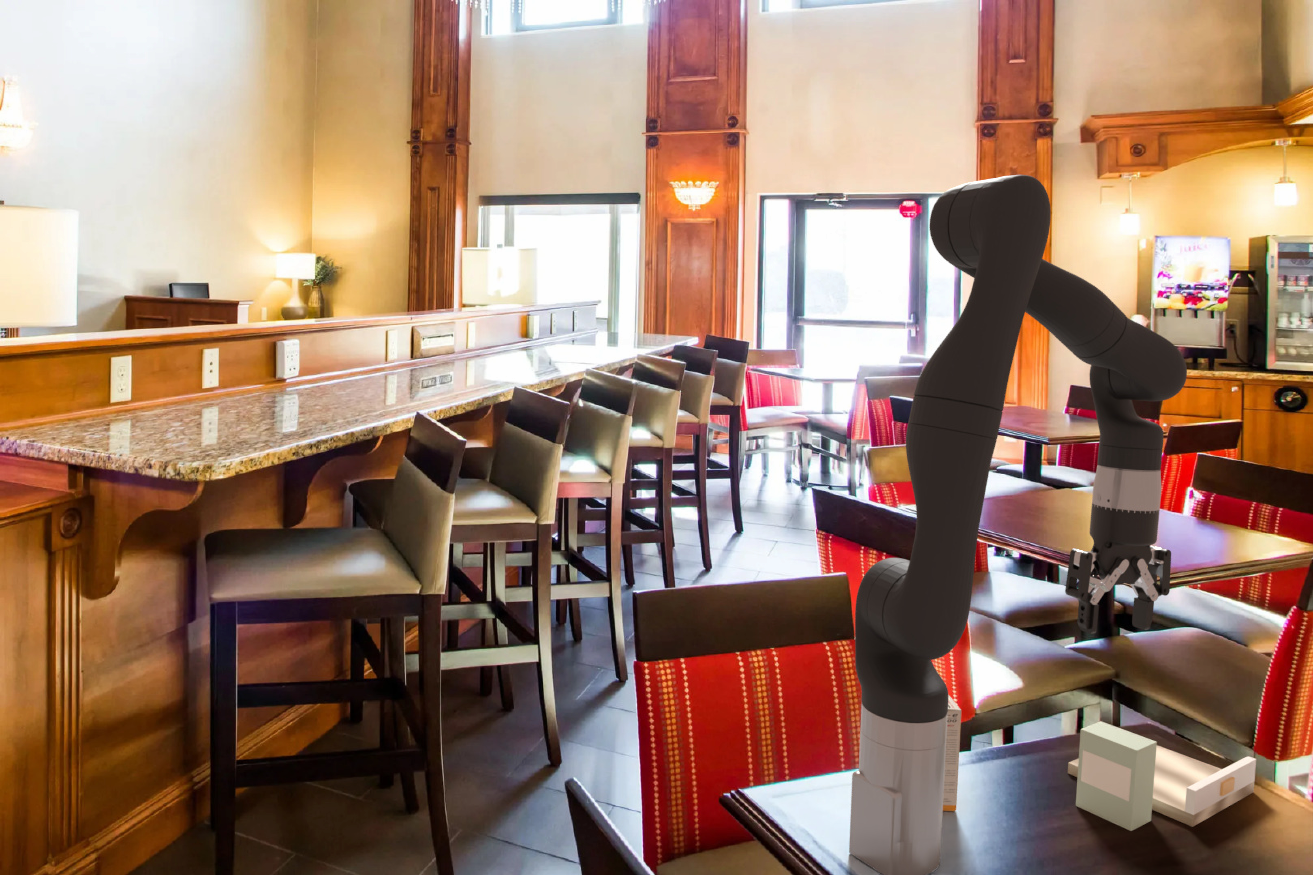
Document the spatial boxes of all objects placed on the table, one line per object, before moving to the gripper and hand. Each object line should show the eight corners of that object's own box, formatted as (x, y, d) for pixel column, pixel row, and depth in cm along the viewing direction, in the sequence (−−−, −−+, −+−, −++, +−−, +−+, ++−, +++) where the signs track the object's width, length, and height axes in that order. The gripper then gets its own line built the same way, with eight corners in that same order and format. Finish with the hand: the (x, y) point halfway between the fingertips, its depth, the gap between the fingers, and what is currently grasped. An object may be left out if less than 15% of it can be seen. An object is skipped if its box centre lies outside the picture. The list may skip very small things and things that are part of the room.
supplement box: (958, 812, 109) (963, 710, 108) (919, 811, 109) (924, 708, 108) (938, 780, 117) (943, 684, 116) (901, 779, 117) (906, 683, 116)
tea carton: (1130, 831, 106) (1136, 750, 105) (1075, 805, 111) (1080, 729, 110) (1151, 820, 108) (1157, 741, 107) (1095, 795, 114) (1100, 721, 113)
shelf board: (1195, 827, 106) (1198, 792, 106) (1067, 773, 120) (1069, 741, 119) (1256, 793, 115) (1258, 759, 115) (1131, 745, 129) (1133, 715, 128)
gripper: (1103, 509, 105) (1092, 642, 107) (1195, 507, 109) (1183, 635, 111) (1057, 499, 112) (1047, 624, 114) (1145, 497, 117) (1134, 618, 118)
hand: (1114, 629), depth 112 cm, fingers open, 8 cm apart
